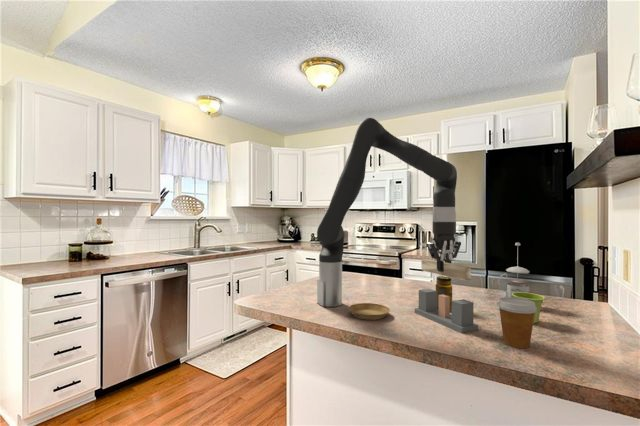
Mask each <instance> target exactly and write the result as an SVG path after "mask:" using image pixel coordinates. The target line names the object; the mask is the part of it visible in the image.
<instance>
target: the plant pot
mask: <svg viewBox="0 0 640 426" xmlns="http://www.w3.org/2000/svg"><path fill="white" fill-rule="evenodd" d="M512 295H513V297H514V298H521V299H526V300H530V301H532V302H534V303H535V306H536V308H537V310H536V312H535V315H534V322H533V324H536V323H537V324H539V319H540V314H541V309H542V304H543V301H544V300H545V299H546V298H545V296H543V295H539V294H537V293H531V292H529V293H526V292H521V291H520V292H513V293H512Z"/></svg>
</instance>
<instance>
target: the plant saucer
mask: <svg viewBox="0 0 640 426" xmlns="http://www.w3.org/2000/svg"><path fill="white" fill-rule="evenodd" d="M348 310H349V312H350V313H351V315H353V316H354V317H355V318H357V319H360V320H367V321H378V320H382V319H384V318H385V317H386V316H387V315H388V314H390V312H391V309H390V307H388V306H386V305H384V304H378V303H374V302H373V303H372V302H363V303H360V302H359V303H354V304H351V305H349V306H348Z"/></svg>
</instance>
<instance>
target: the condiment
mask: <svg viewBox="0 0 640 426" xmlns="http://www.w3.org/2000/svg"><path fill="white" fill-rule="evenodd" d="M435 291H437V309H438V310H439V295H442V294H443V295H447V296H450V312H452V301H453V285H452V277H447V276H443V275H439V276H437V277H436V284H435Z"/></svg>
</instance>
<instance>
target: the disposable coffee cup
mask: <svg viewBox="0 0 640 426" xmlns="http://www.w3.org/2000/svg"><path fill="white" fill-rule="evenodd" d="M498 300H499V301H498V302H497V306H498V309H499V314H500V323H501V333H502V339H503V343H504V344H506V345H507V346H509V347H513V348H517V349H528V348H530V346H531V342H532V341H531V340H532V333H533V327H534V323H533V322H534V315H535V312H536V310H537V308H536V306H535V303H534V302H532V301H530V300H526V299H521V298H513V297H506V296H505V297H504V296H503V297H500V298H499V299H498Z"/></svg>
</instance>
